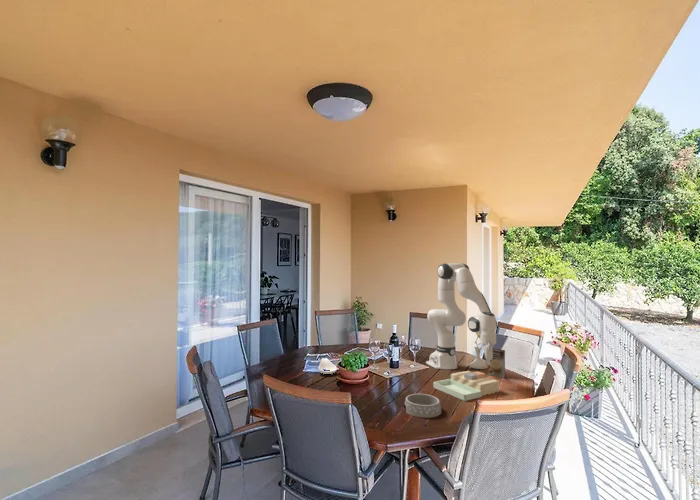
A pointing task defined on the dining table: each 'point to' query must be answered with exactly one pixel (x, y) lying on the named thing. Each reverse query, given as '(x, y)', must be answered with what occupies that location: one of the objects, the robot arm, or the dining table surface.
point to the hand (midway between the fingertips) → (488, 364)
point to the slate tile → (470, 376)
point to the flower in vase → (478, 357)
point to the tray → (457, 389)
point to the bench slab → (477, 382)
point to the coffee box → (497, 364)
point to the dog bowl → (422, 405)
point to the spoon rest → (327, 366)
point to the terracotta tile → (479, 374)
